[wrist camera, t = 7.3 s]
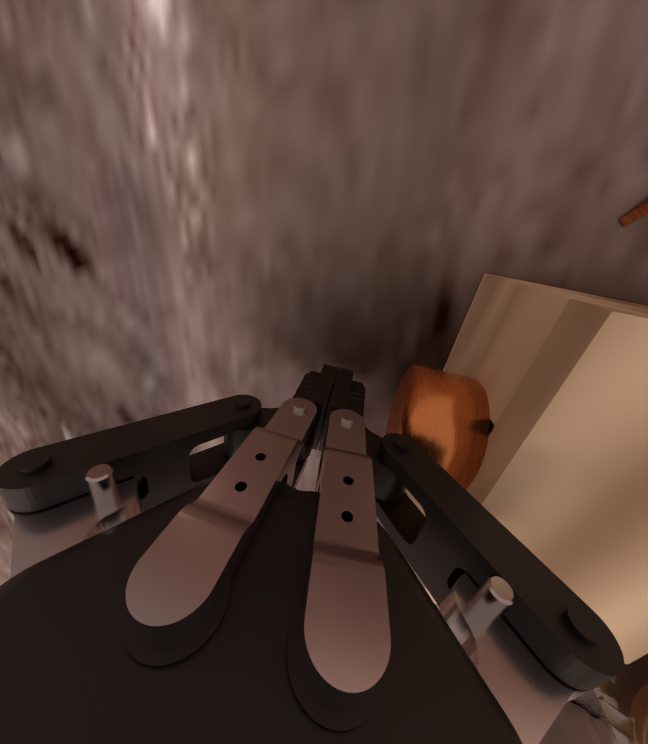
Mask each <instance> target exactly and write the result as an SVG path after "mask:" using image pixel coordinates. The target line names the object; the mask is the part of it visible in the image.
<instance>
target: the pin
mask: <svg viewBox="0 0 648 744" xmlns="http://www.w3.org/2000/svg"><path fill="white" fill-rule="evenodd" d="M494 427H495V426H494V424H493V422H492V421H491V419H490V409H489V402H488V398H487V394H486V391H485V389H484V387H483V386H482V384H481V383H480V382H479V381H478V380H476V379H473V378H469V377H465V376H461V375H457V374H453V373H448V372H444V371H440V370H436V369H432V368H427V367H423V366H419V365H415V364H413V365H411V366H410V367H409V368H408V369H407V370H406V372H405V373H404V375H403V377H402V379H401V382H400V384H399V386H398V389H397V392H396V395H395V398H394V401H393V404H392V408H391V412H390V416H389V421H388V425H387V431H386V435H387V434H389V433H399V434H402V435H405V436H407V437H409V438H411V439H412V440H414V441H415V442H416V443H417V444H418V445H419V446H420V447H421V448H422V449H423V450H424V451H425V452H426V453H427V454H429V455H430V456H431V457H432V458H433V459H434V460H435V461H436V462H437V463H438V464H439V465H440V466H441V467H442V468H443V469H444V470H445V471H446V472H448V473H449V474H450V475H451V476H452V477H453V478H454V479H455V480H456V481H457V482H458V483H459V484H460V485H461V486H462V487H463V488H464V489H465V490H466V489H467V488H468V487H469V486H470V485H471V483H472V482H473V480H474V479H475V477H476V475H477V473H478V471H479V469H480V467H481V464H482V461H483V458H484V456H485V452H486V448H487V443H488V438H489V435H490V433H491V432H492V430H493V428H494Z"/></svg>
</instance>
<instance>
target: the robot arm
mask: <svg viewBox="0 0 648 744" xmlns="http://www.w3.org/2000/svg"><path fill="white" fill-rule="evenodd" d="M337 373H338V374H337ZM352 376H353V371H351V370H347V369H343V368H339V371H338V367H334V366H330V365H326V364H324V366H323V368H322V371H321V373H318V372H314V371H311V372H309V373H307V374H306V375H305V376H304V378H303V380H302V382H301V384H300V385H299V387H298V389H297V391H296V393H295V395H294V396H293V398H290V399H288V400H286V401H284V403H283V404H282V405H281V406H280V408H261V406H262V405H261V402H260V401H259V400H258V399H257V398H255V397H253V396H250V395H236V396H232V397H228V398H224V399H220V400H217V401H213V402H209V403H205V404H201V405H198V406H194V407H190V408H186V409H183V410H179V411H175V412H171V413H167V414H164V415H160V416H156V417H152V418H149V419H145V420H141V421H137V422H133V423H130V424H126V425H122V426H118V427H114V428H111V429H107V430H103V431H99V432H96V433H92V434H88V435H84V436H80V437H77V438H73V439H69V440H65V441H62V442H58V443H54V444H50V445H46V446H43V447H39V448H35V449H32V450H29V451H26V452H23V453H21V454H19V455H17V456H15V457H13V458H11V459H10V460H8V461H7V462H5V463H4V464H3V465H2V466H1V467H0V494H1V496H2V498H3V500H4V501H5V508H6V510H7V512H8V514H9V515H10V517H11V519H12V521H13V522H14V526H13V543H12V559H11V576H10V579H9V580H8V581H6V582H5V583H4V584H2V585H1V586H0V744H614V743H613V741H612V739H611V737H610V735H609V732H608V730H607V728H606V726H605V724H604V722H603V721H602V720H600V719H597V718H594V717H593V716H591V715H590V714H589V713H588V712H587V711H586V710H585V709H583V708H581V707H580V706H578V705H576V704H574V703H571V702H570V701H572V700H574V699H575V698H577V697H579V696H581V695H583V694H585V693H586V692H588V691H590V690H592V689H594V688H596V687H597V686H599V685H601V684H603V683H605V682H607V681H608V680H610V679H612V678H614V677H616V676H618V675H619V674H621V673H622V671H623V669H624V657H623V653H622V650H621V648H620V646H619V644H618V642H617V640H616V638H615V637H614V635H613V633H612V632H611V630H610V629H609V628H608V626H607V625H606V624H605V623H604V621H603V620H602V619H601V618H600V617H599V616H598V615H597V614H596V613H595V612H594V611H593V610H592V609H591V608H590V607H589V606H588V605H587V604H586V603H585V602H584V601H583V600H582V599H581V598H579V597H578V596H577V595H576V594H575V593H574V592H573V591H572V590H571V589H570V588H569V587H568V586H567V585H566V584H565V583H564V582H563V581H562V580H560V579H559V578H558V577H557V576H556V575H555V574H554V573H553V572H552V571H551V570H550V569H549V568H548V567H547V566H546V565H545V564H544V563H543V562H541V561H540V560H539V559H538V558H537V557H536V556H535V555H534V554H533V553H532V552H531V551H530V550H529V549H528V548H527V547H526V546H525V545H524V544H522V543H521V542H520V541H519V540H518V539H517V538H516V537H515V536H514V535H513V534H512V533H511V532H510V531H509V530H508V529H507V528H506V527H505V526H503V525H502V524H501V523H500V522H499V521H498V520H497V519H496V518H495V517H494V516H493V515H492V514H491V513H490V512H489V511H488V510H487V509H486V508H484V507H483V506H482V505H481V504H480V503H479V502H478V501H477V500H476V499H475V498H474V497H473V496H472V495H471V494H470V493H469V492H468V491H467V490H465V489H464V488H463V487H462V486H461V485H460V484H459V483H458V482H457V481H456V480H455V479H454V478H453V477H452V476H451V475H450V474H449V473H448V472H446V471H445V470H444V469H443V468H442V467H441V466H440V465H439V464H438V463H437V462H436V461H435V460H434V459H433V458H432V457H431V456H430V455H429V454H427V453H426V452H425V451H424V450H423V449H422V448H421V447H420V446H419V445H418V444H417V443H416V442H415V441H414V440H412V439H411V438H409V437H407V436H405V435H402V434H399V433H389V434H387V435H385V436H384V437H383V438H382V437H380V436H378V435H376V434H374V433H372V432H371V431H370V430H368V429H367V428H366V426H365V421H364V419H363V412H364V400H365V387H364V386H363V384H362V383H360V382H356V381H352ZM321 434H322V435H321ZM222 436H224V443H222V444H219V445H217V446H214V447H211V448H209V449H206V450H203V451H201V452H198V453H195V454H193V455H190V456H189V454H190V452H191V450H192V449H193V448H194V447H196V446H197V445H199V444H202V443H205V442H208V441H210V440H213V439H216V438H219V437H222ZM320 438H321V440H320ZM319 441H320V444H319ZM318 444H319V449H318V450H320V451H322V454H321V458H320V463H319V468H318V474H317V480H316V486H315V492H313V491H300V490H297V489H296V486H297V484H298V482H299V479H300V477H301V475H302V472H303V470H304V468H305V466H306V463H307V459H308V456H309V455H310V452H311V449H316V450H317V448H318ZM405 489H407V490H408V491H409V492H410V493H411V495H412V496H413V497H414V498H415V499H416V500H417V502H418V503H419V504H420V505H421V506H422V508H423V510H424V512H425V516H426V517H425V516H424V515H423V513H422V512H421V511H420V510H419V509H418V507H417V506H416V505H415V504H414V503H413V501H412V500H411V499H410V498H409V497H408V495H407V494H406V493H405V492H404V491H405ZM376 516H377V517H378V518H379V520H380V521H381V523H382V524H383V526H384V527H385V529H386V530H387V531H386V530H385V529H384V528H383V527H382V526H381V525H380V524H379V523H378V522H377V520H376ZM388 533H389V534H390V535H389V534H388ZM399 549H400V550H401V551H400V550H399ZM401 552H402V553H403V554H402V553H401ZM403 555H404V556H405V557H404V556H403ZM405 558H406V559H407V560H406V559H405ZM407 561H408V562H409V563H408V562H407ZM409 564H410V565H411V566H412V568H413V569H414V571H415V572H416V574H417V575H418V577H419V578H420V580H421V581H422V582H423V584H424V585H425V587H426V588H427V590H428V591H429V593H430V594H431V596H432V597H433V598H434V600H435V601H436V603H437V604H438V606H439V610H438V608H437V607H436V605H435V604H434V602H433V601H432V599H431V597H430V596H429V594H428V593H427V591H426V590H425V588H424V587H423V585H422V584H421V582H420V580H419V579H418V577H417V576H416V574H415V573H414V571H413V570H412V568H411V567H410V565H409Z"/></svg>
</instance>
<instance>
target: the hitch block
mask: <svg viewBox="0 0 648 744" xmlns="http://www.w3.org/2000/svg"><path fill="white" fill-rule="evenodd" d="M443 371H444V372H448V373H453V374H457V375H461V376H465V377H469V378H473V379H476V380H478V381H479V382H480V383H481V384H482V386H483V387H484V389H485V391H486V394H487V398H488V402H489V409H490V419H491V421H492V422H493V424H494V426H495V427H494V428H493V430H492V432H491V433H490V435H489V438H488V443H487V448H486V452H485V456H484V458H483V461H482V464H481V467H480V469H479V471H478V473H477V475H476V477H475V479H474V480H473V482H472V483H471V485H470V486H469V487H468V488H467V489H466V490H467V491H468V492H469V493H470V494H471V495H472V496H473V497H474V498H475V499H476V500H477V501H478V502H479V503H480V504H481V505H482V506H483V507H484V508H486V509H487V510H488V511H489V512H490V513H491V514H492V515H493V516H494V517H495V518H496V519H497V520H498V521H499V522H500V523H501V524H502V525H503V526H505V527H506V528H507V529H508V530H509V531H510V532H511V533H512V534H513V535H514V536H515V537H516V538H517V539H518V540H519V541H520V542H521V543H522V544H524V545H525V546H526V547H527V548H528V549H529V550H530V551H531V552H532V553H533V554H534V555H535V556H536V557H537V558H538V559H539V560H540V561H541V562H543V563H544V564H545V565H546V566H547V567H548V568H549V569H550V570H551V571H552V572H553V573H554V574H555V575H556V576H557V577H558V578H559V579H560V580H562V581H563V582H564V583H565V584H566V585H567V586H568V587H569V588H570V589H571V590H572V591H573V592H574V593H575V594H576V595H577V596H578V597H579V598H581V599H582V600H583V601H584V602H585V603H586V604H587V605H588V606H589V607H590V608H591V609H592V610H593V611H594V612H595V613H596V614H597V615H598V616H599V617H600V618H601V619H602V620H603V621H604V623H605V624H606V625H607V626H608V628H609V629H610V630H611V632H612V633H613V635H614V637H615V638H616V640H617V642H618V644H619V646H620V648H621V650H622V653H623V657H624V664H630V663H631V662H633V661H635V660H637V659H639V658H640V657H642V656H644V655H646V654H648V306H646V305H641V304H636V303H631V302H626V301H621V300H616V299H612V298H607V297H602V296H597V295H592V294H587V293H582V292H577V291H572V290H567V289H562V288H557V287H552V286H547V285H542V284H537V283H533V282H528V281H523V280H518V279H513V278H508V277H503V276H498V275H493V274H488V273H484V275H483V278H482V280H481V282H480V285H479V287H478V289H477V292H476V294H475V296H474V299H473V301H472V303H471V306H470V308H469V310H468V313H467V315H466V317H465V320H464V322H463V324H462V327H461V329H460V331H459V334H458V336H457V338H456V341H455V343H454V345H453V348H452V350H451V352H450V355H449V357H448V359H447V362H446V364H445V366H444V369H443ZM407 495H408V497H409V498H410V499H411V500H412V501H413V503H414V504H415V505H416V506H417V507H418V509H419V510H420V511H421V512H422V513H423V515H424V516H425V512H424V510H423V508H422V506H421V505H420V504H419V503H418V502H417V500H416V499H415V498H414V497H413V496H412V495H411V493H410V492H409V491H408V490H407ZM425 517H426V516H425ZM415 573H416V572H415ZM416 576H417V577H418V575H417V574H416ZM418 579H419V580H420V578H419V577H418ZM420 582H421V584H422V585H423V587H424V588H425V590H426V591H427V593H428V594H429V596H430V597H431V599H432V601H433V602H434V603H435V604H437V603H436V601H435V600H434V598H433V597H432V596H431V594H430V593H429V591H428V590H427V588H426V587H425V585H424V584H423V582H422V581H421V580H420Z"/></svg>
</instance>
